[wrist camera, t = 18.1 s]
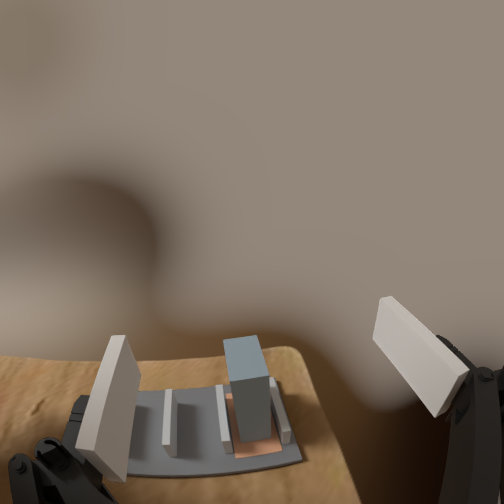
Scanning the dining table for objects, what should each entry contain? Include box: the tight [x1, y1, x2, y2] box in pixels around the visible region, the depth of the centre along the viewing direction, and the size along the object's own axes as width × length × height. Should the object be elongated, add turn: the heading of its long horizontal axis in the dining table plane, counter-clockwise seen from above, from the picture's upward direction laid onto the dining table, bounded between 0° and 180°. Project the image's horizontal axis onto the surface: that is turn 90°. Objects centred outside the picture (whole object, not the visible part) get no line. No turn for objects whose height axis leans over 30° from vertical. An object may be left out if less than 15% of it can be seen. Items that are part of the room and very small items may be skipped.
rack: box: [127, 377, 302, 477], centre depth 33 cm, size 25×16×4 cm, turn 99°
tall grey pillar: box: [223, 335, 271, 443], centre depth 32 cm, size 4×7×13 cm, turn 10°
